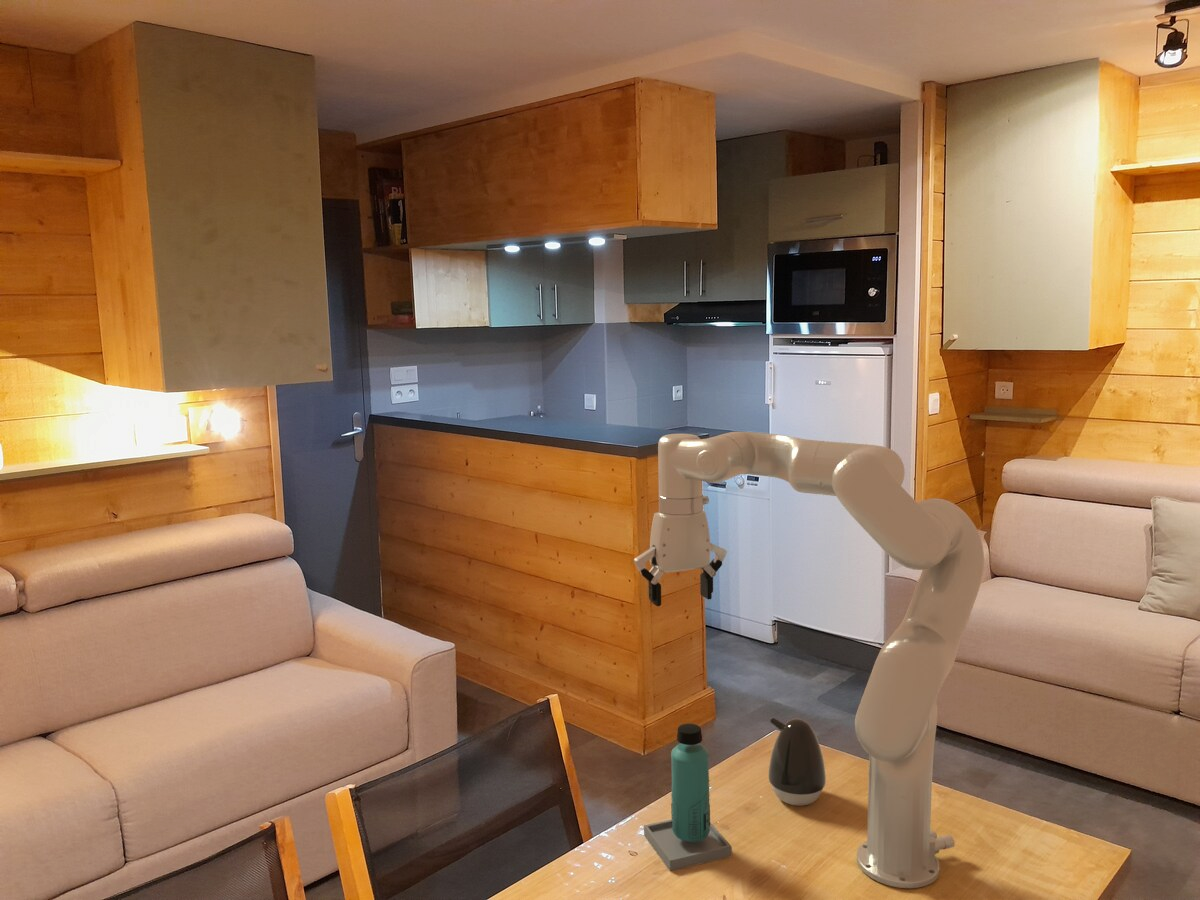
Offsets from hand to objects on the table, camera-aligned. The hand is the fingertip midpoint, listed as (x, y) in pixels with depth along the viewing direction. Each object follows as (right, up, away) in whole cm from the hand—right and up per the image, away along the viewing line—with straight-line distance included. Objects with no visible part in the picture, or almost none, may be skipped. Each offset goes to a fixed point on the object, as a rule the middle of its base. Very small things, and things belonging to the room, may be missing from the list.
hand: (681, 600), depth 163 cm
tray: (0, -40, -8) cm, 41 cm away
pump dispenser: (+22, -38, +7) cm, 44 cm away
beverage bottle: (+1, -39, -8) cm, 40 cm away
